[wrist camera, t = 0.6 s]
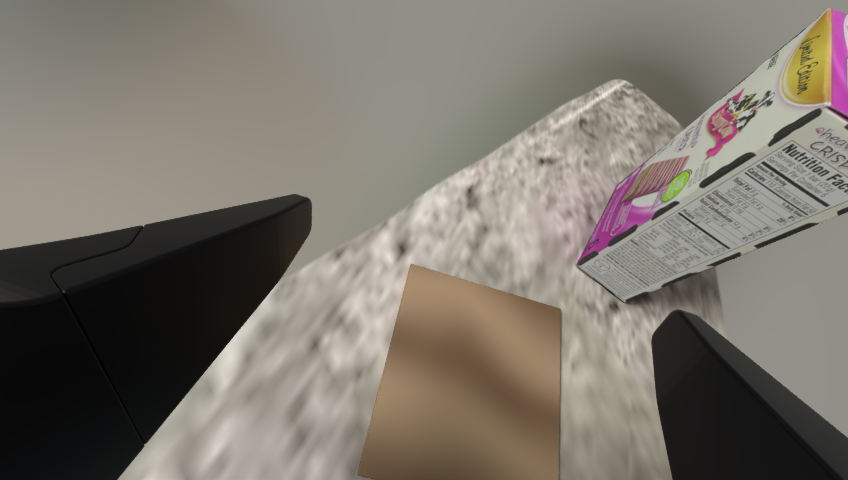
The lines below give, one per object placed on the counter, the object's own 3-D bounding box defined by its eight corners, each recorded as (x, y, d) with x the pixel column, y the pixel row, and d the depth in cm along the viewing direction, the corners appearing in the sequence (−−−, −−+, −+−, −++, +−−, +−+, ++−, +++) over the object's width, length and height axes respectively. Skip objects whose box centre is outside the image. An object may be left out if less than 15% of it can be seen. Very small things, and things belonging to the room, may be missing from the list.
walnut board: (553, 519, 19) (558, 520, 19) (357, 474, 18) (358, 475, 18) (557, 310, 25) (560, 308, 25) (410, 266, 24) (411, 263, 24)
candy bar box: (612, 183, 33) (830, 1, 19) (658, 215, 32) (917, 54, 18) (569, 266, 27) (833, 97, 13) (623, 307, 27) (958, 177, 13)
